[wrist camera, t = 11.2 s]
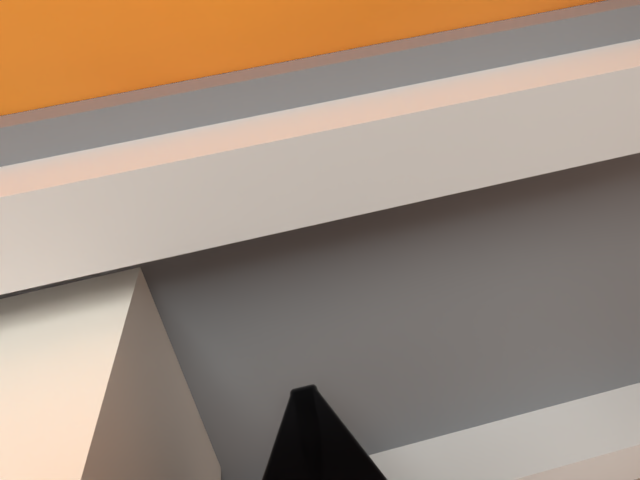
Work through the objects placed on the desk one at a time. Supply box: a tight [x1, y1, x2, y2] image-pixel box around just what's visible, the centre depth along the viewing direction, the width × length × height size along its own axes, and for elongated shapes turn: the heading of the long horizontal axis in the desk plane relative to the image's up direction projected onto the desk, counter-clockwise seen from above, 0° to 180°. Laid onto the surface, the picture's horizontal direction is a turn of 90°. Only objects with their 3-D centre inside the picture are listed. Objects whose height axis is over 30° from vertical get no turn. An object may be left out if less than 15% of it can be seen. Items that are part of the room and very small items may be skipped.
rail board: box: [0, 0, 640, 480], centre depth 9 cm, size 26×10×4 cm, turn 99°
